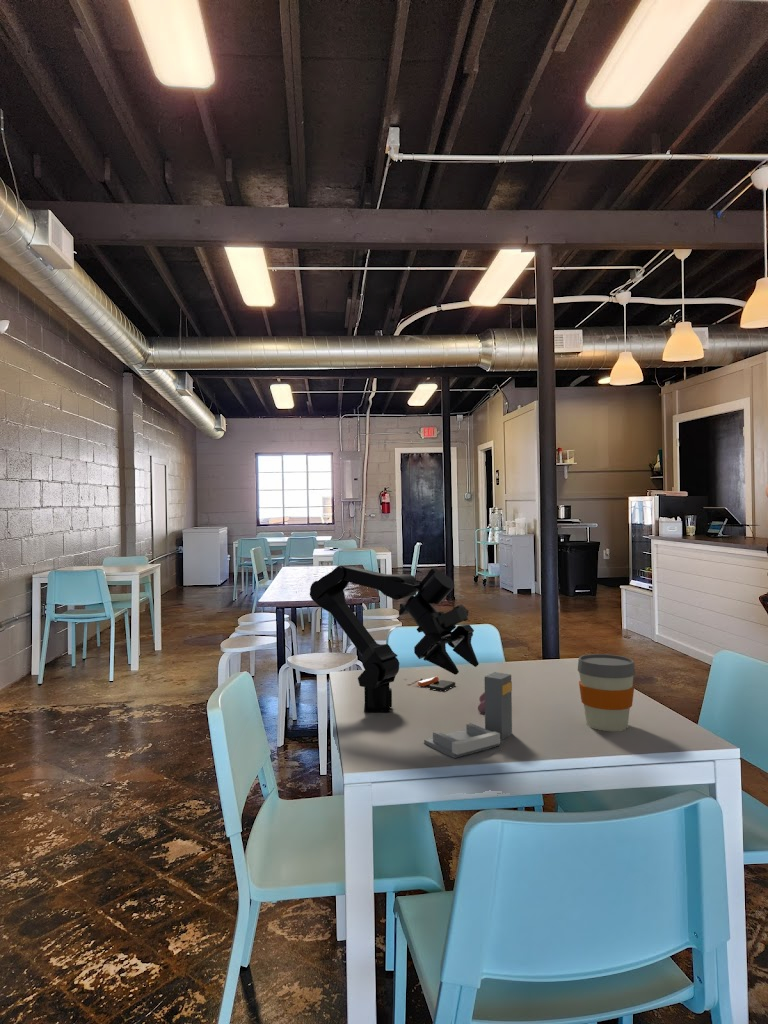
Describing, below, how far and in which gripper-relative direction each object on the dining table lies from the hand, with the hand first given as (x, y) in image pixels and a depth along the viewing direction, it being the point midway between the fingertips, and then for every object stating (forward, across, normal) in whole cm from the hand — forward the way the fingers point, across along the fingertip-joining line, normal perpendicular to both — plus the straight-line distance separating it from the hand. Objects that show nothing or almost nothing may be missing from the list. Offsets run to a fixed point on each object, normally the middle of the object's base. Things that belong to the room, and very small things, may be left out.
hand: (467, 669), depth 142 cm
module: (+15, 0, +4) cm, 15 cm away
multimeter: (-11, +25, +31) cm, 41 cm away
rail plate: (+12, -10, +7) cm, 17 cm away
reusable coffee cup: (+27, +20, -8) cm, 35 cm away
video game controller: (+7, +17, +12) cm, 22 cm away
